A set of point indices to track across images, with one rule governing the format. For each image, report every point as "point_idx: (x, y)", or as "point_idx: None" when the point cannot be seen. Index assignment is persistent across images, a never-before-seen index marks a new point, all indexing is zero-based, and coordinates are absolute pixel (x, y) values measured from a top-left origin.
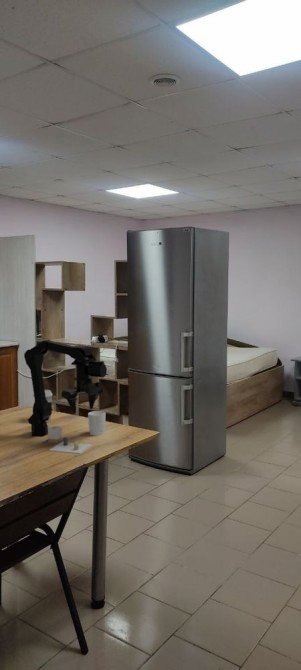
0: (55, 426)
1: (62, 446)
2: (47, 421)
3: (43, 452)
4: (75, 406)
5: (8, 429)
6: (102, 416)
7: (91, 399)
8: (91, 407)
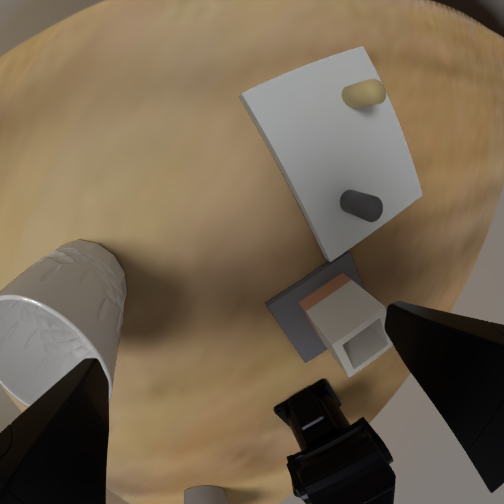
0: (349, 362)
1: (371, 191)
2: (200, 487)
3: (424, 210)
4: (468, 329)
5: None
6: (12, 287)
7: (62, 497)
8: (92, 377)
